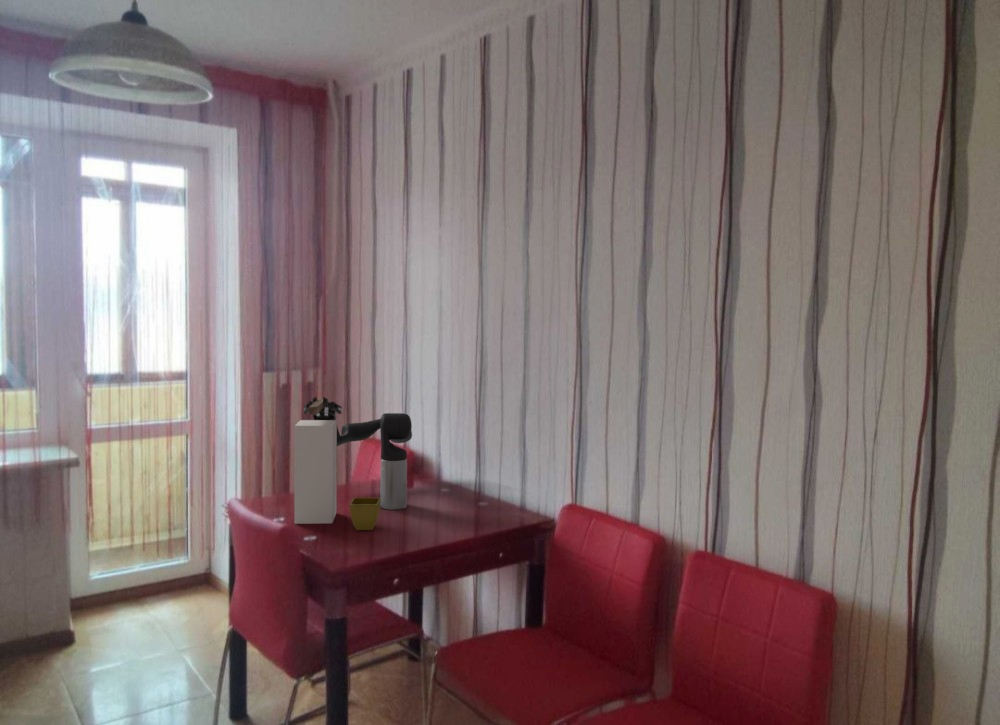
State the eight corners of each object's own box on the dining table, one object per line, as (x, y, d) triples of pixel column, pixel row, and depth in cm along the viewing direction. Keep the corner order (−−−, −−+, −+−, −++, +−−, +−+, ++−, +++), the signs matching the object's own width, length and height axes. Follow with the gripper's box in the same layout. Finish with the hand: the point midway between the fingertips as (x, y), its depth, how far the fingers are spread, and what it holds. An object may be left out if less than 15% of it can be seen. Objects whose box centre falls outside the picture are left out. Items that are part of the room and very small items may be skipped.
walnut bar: (325, 405, 261) (325, 398, 261) (316, 414, 240) (316, 407, 239) (318, 405, 261) (318, 398, 261) (309, 414, 239) (309, 407, 239)
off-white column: (336, 513, 256) (336, 420, 253) (332, 523, 244) (332, 425, 241) (300, 513, 254) (300, 420, 252) (294, 523, 242) (294, 425, 240)
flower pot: (349, 532, 234) (349, 504, 234) (353, 524, 243) (353, 497, 242) (377, 532, 235) (377, 504, 234) (380, 524, 243) (381, 497, 243)
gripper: (344, 428, 269) (339, 410, 254) (304, 428, 268) (297, 409, 252) (345, 408, 272) (341, 389, 257) (306, 408, 271) (299, 389, 255)
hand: (319, 399), depth 255 cm, fingers closed on walnut bar, 2 cm apart
